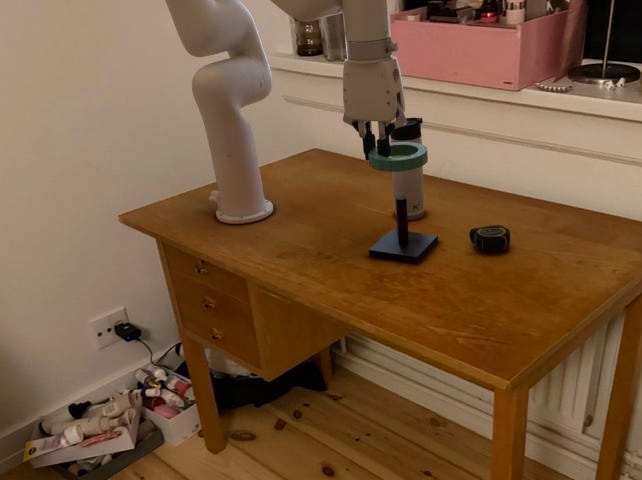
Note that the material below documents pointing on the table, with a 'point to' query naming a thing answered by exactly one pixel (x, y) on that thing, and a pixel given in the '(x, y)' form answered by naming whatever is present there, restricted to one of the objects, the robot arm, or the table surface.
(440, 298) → the table surface
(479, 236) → the tape measure
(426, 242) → the stand
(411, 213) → the travel mug
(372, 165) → the bangle
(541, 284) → the table surface
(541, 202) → the table surface
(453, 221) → the table surface
